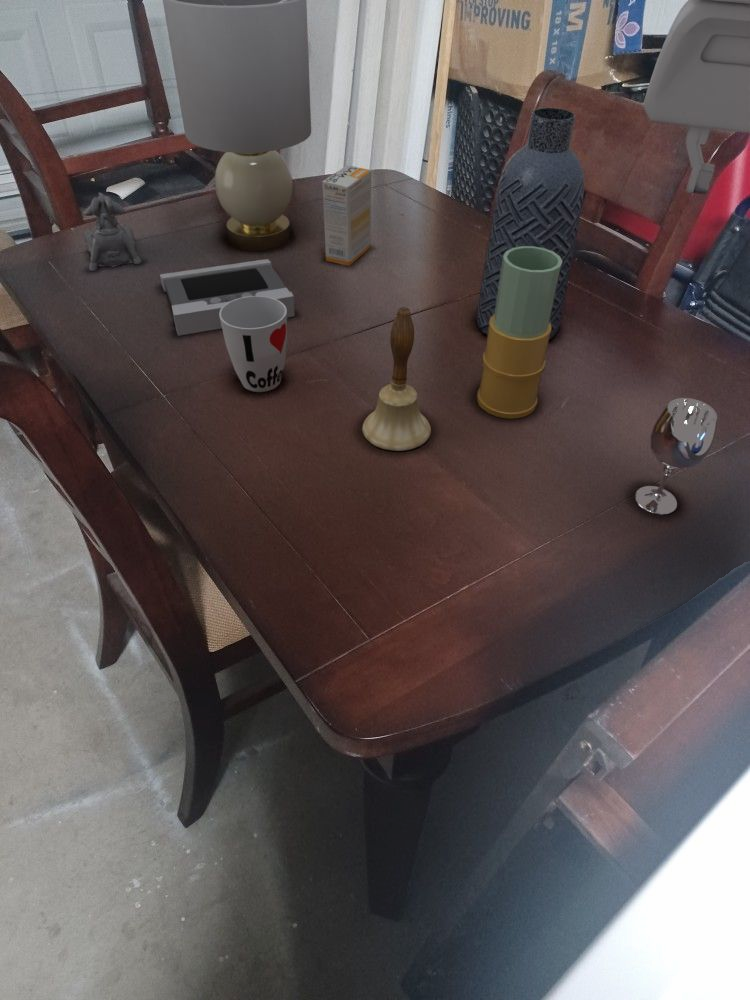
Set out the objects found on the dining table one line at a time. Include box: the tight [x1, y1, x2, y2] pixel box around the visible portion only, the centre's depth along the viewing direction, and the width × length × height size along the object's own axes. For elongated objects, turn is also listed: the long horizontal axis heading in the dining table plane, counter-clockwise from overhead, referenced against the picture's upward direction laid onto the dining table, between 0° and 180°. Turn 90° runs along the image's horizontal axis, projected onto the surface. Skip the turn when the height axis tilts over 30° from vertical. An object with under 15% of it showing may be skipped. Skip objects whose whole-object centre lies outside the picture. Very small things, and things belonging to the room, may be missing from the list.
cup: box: [219, 296, 288, 393], centre depth 88 cm, size 8×8×10 cm
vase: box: [475, 107, 585, 340], centre depth 93 cm, size 12×12×28 cm
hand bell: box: [361, 306, 432, 452], centre depth 79 cm, size 8×8×16 cm
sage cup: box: [494, 246, 562, 338], centre depth 78 cm, size 6×6×8 cm
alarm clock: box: [159, 258, 296, 337], centre depth 105 cm, size 17×5×16 cm
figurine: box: [82, 192, 143, 272], centre depth 113 cm, size 8×10×11 cm
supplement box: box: [321, 164, 372, 267], centre depth 114 cm, size 8×5×13 cm, turn 153°
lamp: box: [162, 0, 312, 252], centre depth 110 cm, size 20×20×35 cm
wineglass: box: [634, 397, 718, 516], centre depth 72 cm, size 6×6×12 cm
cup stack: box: [476, 315, 551, 420], centre depth 85 cm, size 8×8×11 cm
